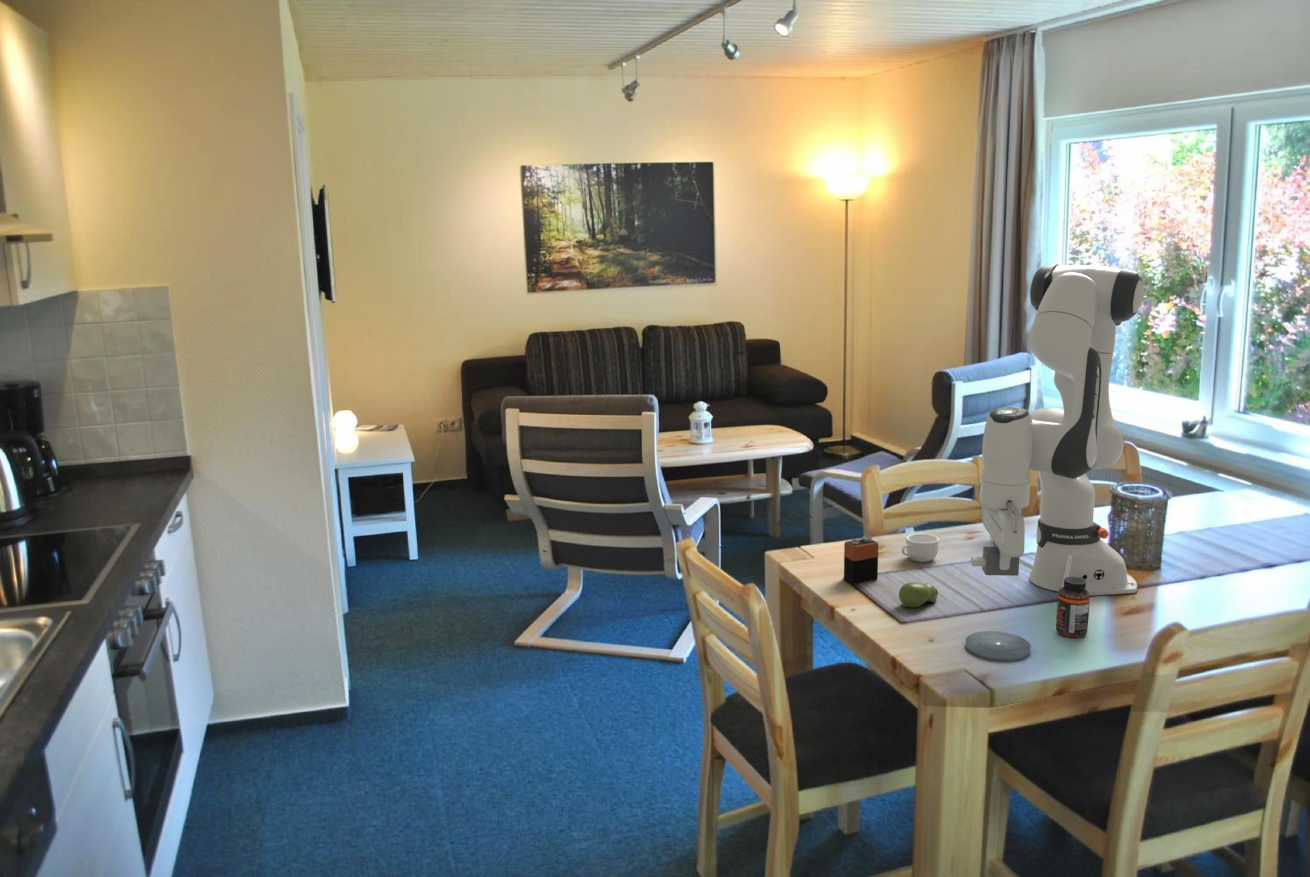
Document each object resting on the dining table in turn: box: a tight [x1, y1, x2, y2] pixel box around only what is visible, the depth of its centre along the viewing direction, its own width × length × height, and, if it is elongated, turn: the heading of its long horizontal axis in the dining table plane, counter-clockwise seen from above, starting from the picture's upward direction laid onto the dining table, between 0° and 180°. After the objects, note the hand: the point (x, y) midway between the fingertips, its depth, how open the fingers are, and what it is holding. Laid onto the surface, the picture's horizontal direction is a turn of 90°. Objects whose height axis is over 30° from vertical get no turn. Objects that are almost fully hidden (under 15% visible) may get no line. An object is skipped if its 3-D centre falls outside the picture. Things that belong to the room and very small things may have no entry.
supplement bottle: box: [1055, 577, 1091, 639], centre depth 207 cm, size 6×6×11 cm
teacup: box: [901, 532, 940, 563], centre depth 252 cm, size 10×8×5 cm
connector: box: [970, 546, 1020, 577], centre depth 198 cm, size 8×4×4 cm, turn 84°
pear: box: [898, 581, 939, 609], centre depth 225 cm, size 6×5×10 cm
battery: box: [843, 535, 879, 585], centre depth 239 cm, size 4×7×10 cm, turn 113°
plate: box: [965, 630, 1032, 662], centre depth 202 cm, size 12×12×1 cm
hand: (1000, 564), depth 198 cm, fingers closed on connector, 3 cm apart
